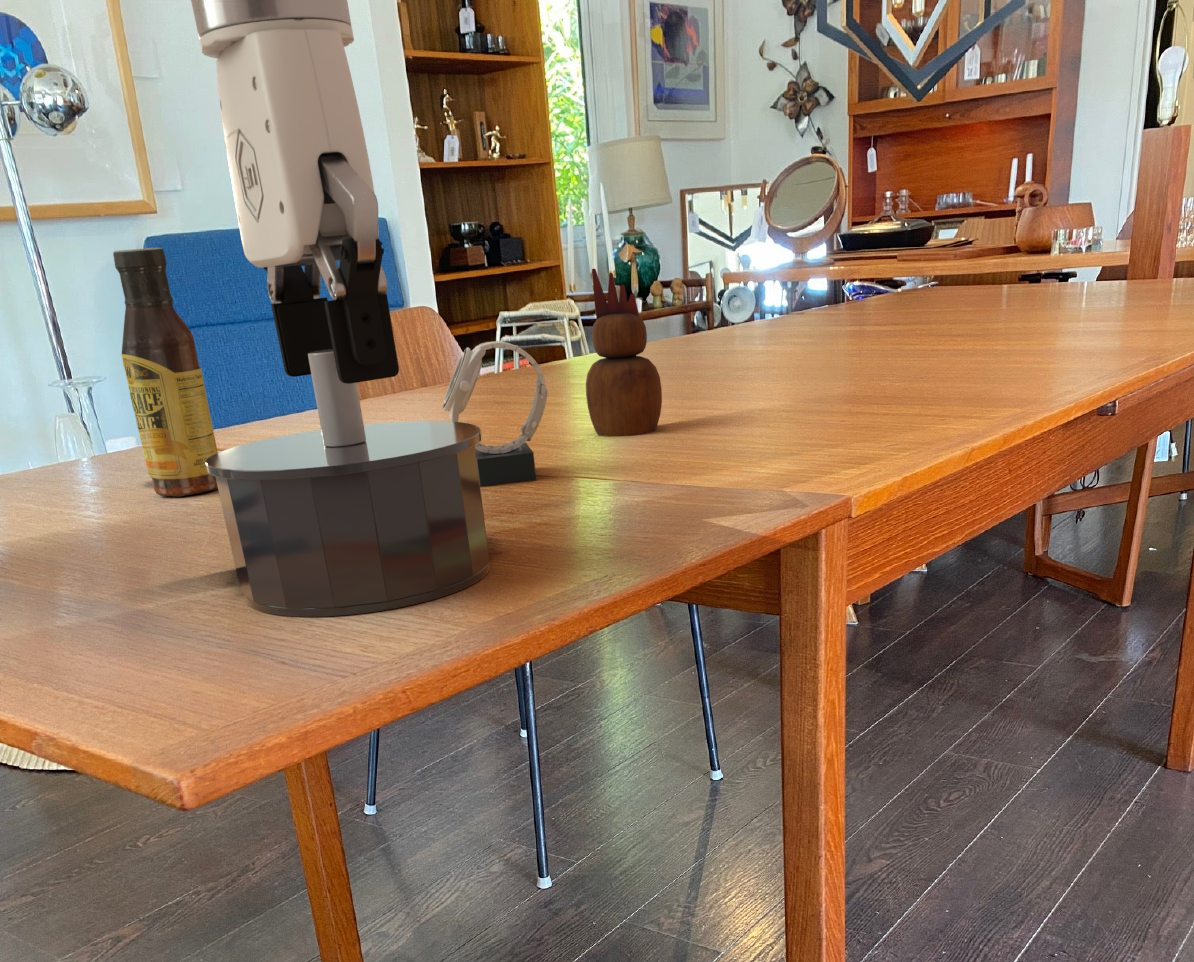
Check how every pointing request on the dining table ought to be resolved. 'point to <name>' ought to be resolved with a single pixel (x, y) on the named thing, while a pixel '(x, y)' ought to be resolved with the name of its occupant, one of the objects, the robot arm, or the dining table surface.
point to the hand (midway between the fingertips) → (340, 376)
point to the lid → (341, 438)
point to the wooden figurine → (621, 368)
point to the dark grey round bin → (358, 537)
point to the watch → (505, 459)
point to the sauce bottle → (164, 378)
